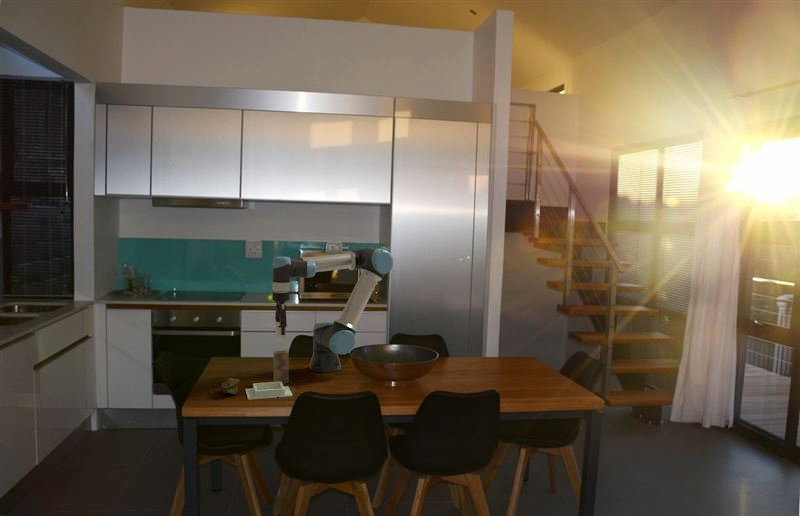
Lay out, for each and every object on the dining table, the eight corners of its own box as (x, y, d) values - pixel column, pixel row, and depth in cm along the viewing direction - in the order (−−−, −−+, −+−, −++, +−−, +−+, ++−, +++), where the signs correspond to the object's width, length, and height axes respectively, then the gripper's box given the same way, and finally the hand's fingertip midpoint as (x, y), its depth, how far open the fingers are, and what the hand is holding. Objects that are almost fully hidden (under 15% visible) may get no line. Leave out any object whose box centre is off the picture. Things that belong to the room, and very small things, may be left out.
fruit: (249, 393, 257) (249, 378, 257) (224, 399, 249) (224, 383, 248) (234, 388, 265) (234, 373, 265) (209, 393, 256) (209, 378, 256)
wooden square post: (286, 380, 278) (287, 350, 277) (288, 383, 273) (288, 352, 272) (273, 381, 276) (273, 351, 275) (274, 384, 271) (274, 353, 270)
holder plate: (287, 387, 268) (288, 380, 267) (292, 396, 254) (292, 389, 254) (245, 390, 262) (245, 383, 262) (248, 399, 249) (248, 392, 248)
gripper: (269, 288, 282) (268, 334, 284) (275, 295, 259) (275, 345, 260) (285, 288, 285) (285, 333, 286) (293, 295, 261) (293, 344, 262)
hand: (280, 339), depth 273 cm, fingers open, 13 cm apart
